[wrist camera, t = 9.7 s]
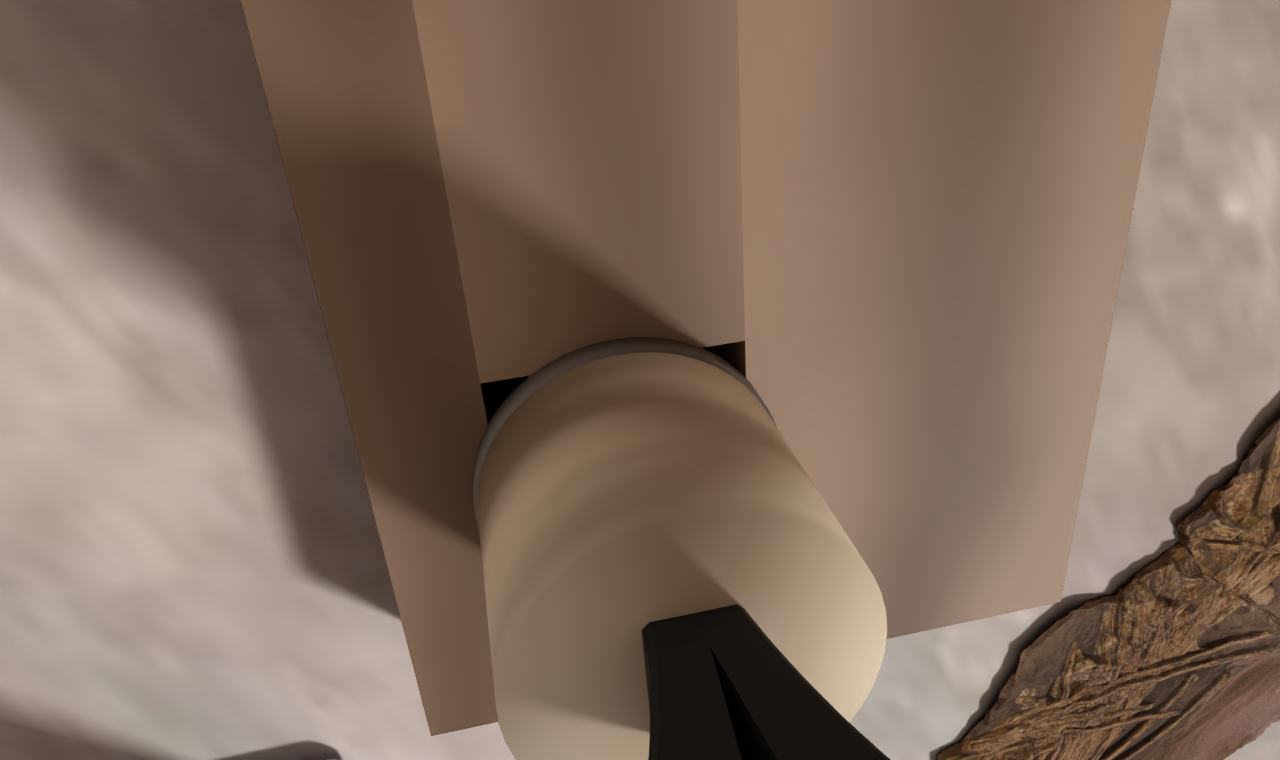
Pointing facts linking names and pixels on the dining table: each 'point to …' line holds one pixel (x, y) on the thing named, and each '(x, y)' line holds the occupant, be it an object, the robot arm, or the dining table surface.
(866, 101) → the board
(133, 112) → the dining table surface
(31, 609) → the dining table surface
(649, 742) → the robot arm
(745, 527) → the peg
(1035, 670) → the wooden fragment
